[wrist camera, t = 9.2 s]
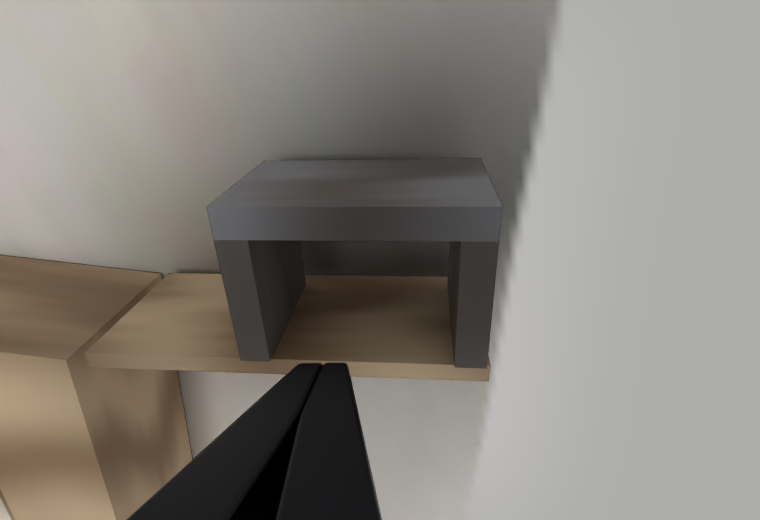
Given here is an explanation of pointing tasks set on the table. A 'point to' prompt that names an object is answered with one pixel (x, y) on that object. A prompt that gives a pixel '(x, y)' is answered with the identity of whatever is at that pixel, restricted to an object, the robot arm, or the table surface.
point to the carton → (79, 398)
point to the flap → (328, 277)
